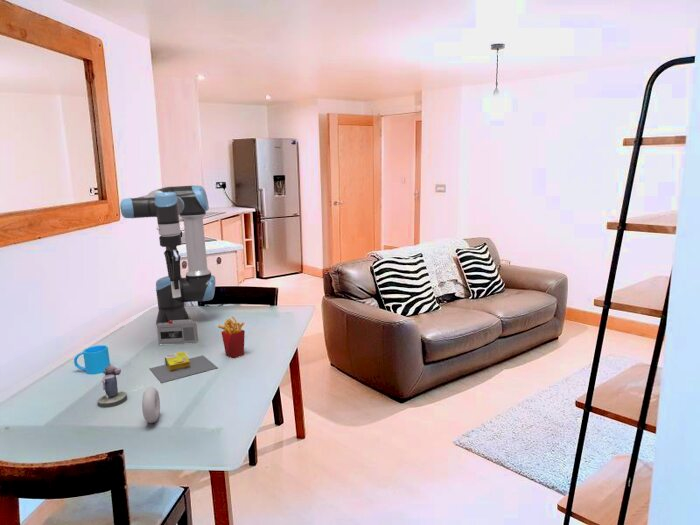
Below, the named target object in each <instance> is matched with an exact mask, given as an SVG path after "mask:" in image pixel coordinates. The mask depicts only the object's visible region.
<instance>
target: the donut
mask: <svg viewBox="0 0 700 525" xmlns="http://www.w3.org/2000/svg"><path fill="white" fill-rule="evenodd" d="M141 407H142V409H141V410H142V415H143V419H144V420H145V422H147V423H149V424H154V423H155V422H157V421H158V420H159V416H160V412H161V400H160V394H159V391H158V389H156V387H151V386H150V387H148V388H146V389H145V390H144V391H143V395H142V401H141Z"/></svg>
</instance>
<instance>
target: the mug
mask: <svg viewBox="0 0 700 525" xmlns="http://www.w3.org/2000/svg"><path fill="white" fill-rule="evenodd" d="M82 355H83V362H84V367H83V366H81V365H79V363H78V358H79V357H80V356H82ZM73 365H74V366H75V367H76V368H78V370H83V371H85V373H86V374H87V375H99V374H104V373H103V371H105V368H106V367H107V366H111V362H110V353H109V347H108V345H106V344H105V345H104V344H101V345H100V344H99V345H94V346H90V347H87V348H84V349H83V351H82V352H80V353H77V355H75V356H74V359H73Z"/></svg>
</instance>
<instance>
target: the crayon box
mask: <svg viewBox="0 0 700 525" xmlns="http://www.w3.org/2000/svg"><path fill="white" fill-rule="evenodd" d="M189 359H190V357H189V356H188V355H187V354H186V352H185V351H180V352H175V353H171V354H167V355H164V363H165V365H167V367H168V369H169V371H171V370H175V369H180V368H184V367H189V366H190V363H189V362H190V360H189Z"/></svg>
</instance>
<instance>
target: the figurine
mask: <svg viewBox="0 0 700 525" xmlns="http://www.w3.org/2000/svg"><path fill="white" fill-rule="evenodd" d="M121 373H122V369H121V368H119V367H116V366H114V365H110V366H107V367H106V368H105V371H103V373H102V374H103V376H102V377H103V378H102V380H101V382H102V390H103V391H105V395H102V396H101V397H99V398H98V399H97V401H96V402H97V406H98V407H99V408H103V409H104V408H106V409H107V408H114V407H117V406H120V405H122V404H124V403H126V401H127V400H128V394H127V392H125V391H119V389H118V380H117V376H120V375H121Z"/></svg>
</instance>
